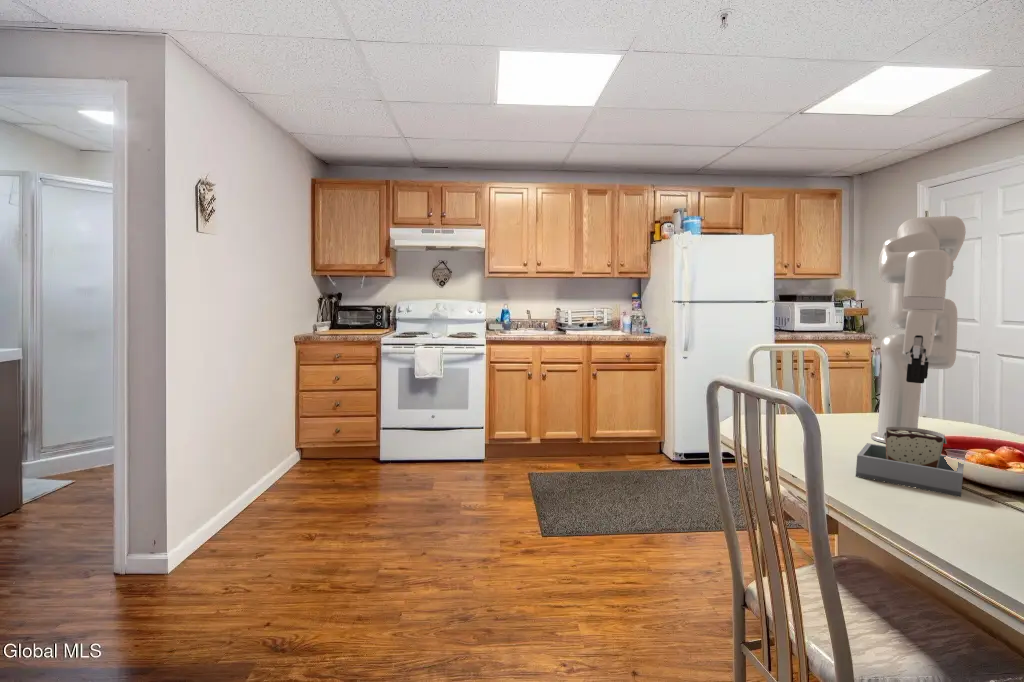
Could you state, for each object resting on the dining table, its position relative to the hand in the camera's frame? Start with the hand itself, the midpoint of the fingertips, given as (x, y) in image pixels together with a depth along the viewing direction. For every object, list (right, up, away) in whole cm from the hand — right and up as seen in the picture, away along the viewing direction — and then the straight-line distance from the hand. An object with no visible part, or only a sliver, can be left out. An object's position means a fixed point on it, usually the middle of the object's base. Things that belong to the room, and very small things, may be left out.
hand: (916, 380), depth 125 cm
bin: (-1, -23, +2) cm, 23 cm away
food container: (0, -22, +4) cm, 22 cm away
